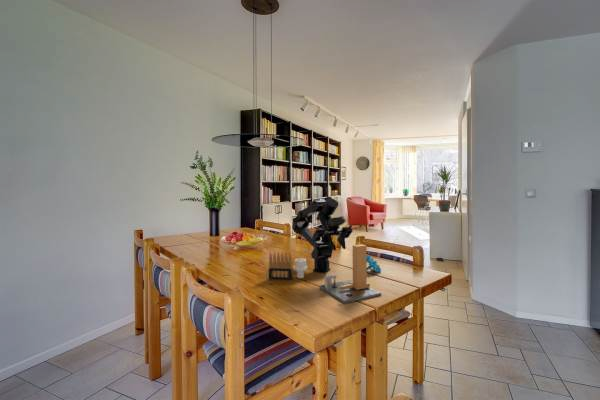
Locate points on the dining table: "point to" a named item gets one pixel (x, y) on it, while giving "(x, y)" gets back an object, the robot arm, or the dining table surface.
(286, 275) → the ammunition clip
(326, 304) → the dining table surface
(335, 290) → the plate
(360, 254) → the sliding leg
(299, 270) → the pipe fitting
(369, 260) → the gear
